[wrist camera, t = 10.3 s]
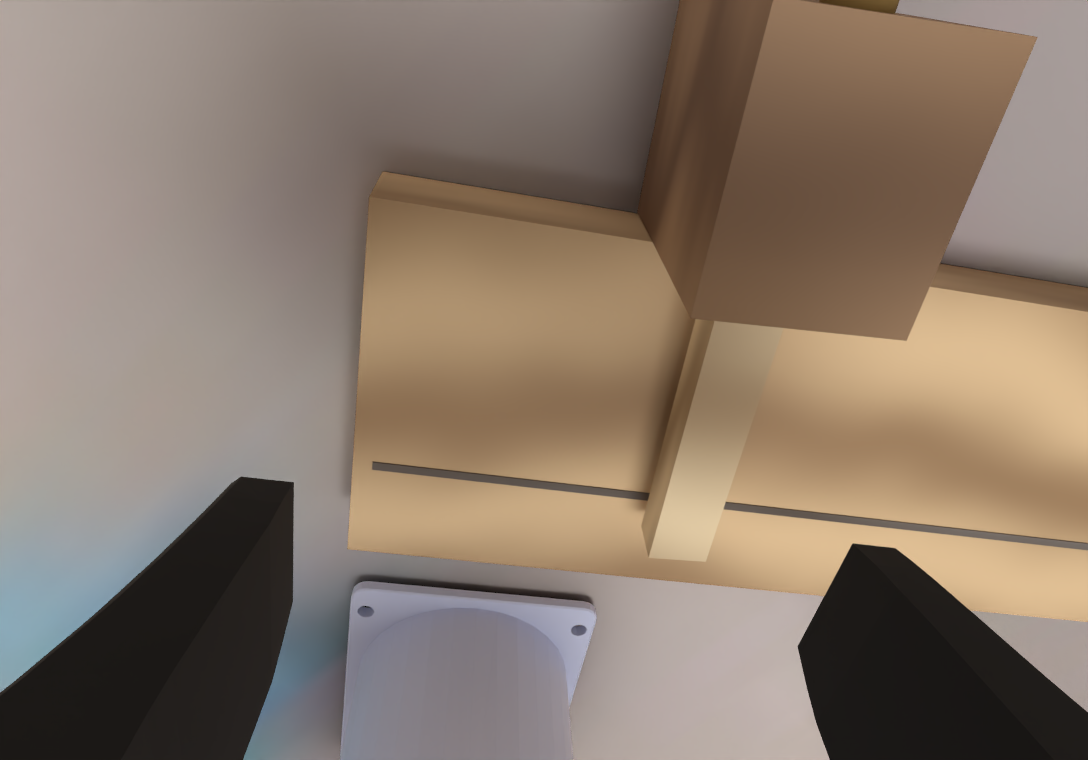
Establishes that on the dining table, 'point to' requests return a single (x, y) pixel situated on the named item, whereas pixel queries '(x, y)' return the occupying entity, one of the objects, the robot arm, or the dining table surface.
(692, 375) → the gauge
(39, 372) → the dining table surface
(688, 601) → the dining table surface
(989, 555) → the board
